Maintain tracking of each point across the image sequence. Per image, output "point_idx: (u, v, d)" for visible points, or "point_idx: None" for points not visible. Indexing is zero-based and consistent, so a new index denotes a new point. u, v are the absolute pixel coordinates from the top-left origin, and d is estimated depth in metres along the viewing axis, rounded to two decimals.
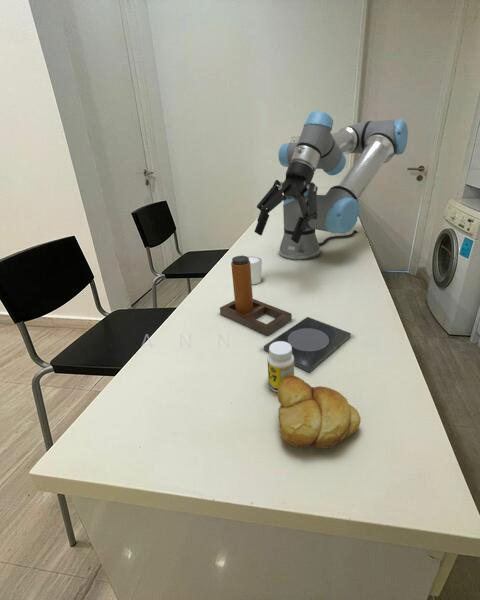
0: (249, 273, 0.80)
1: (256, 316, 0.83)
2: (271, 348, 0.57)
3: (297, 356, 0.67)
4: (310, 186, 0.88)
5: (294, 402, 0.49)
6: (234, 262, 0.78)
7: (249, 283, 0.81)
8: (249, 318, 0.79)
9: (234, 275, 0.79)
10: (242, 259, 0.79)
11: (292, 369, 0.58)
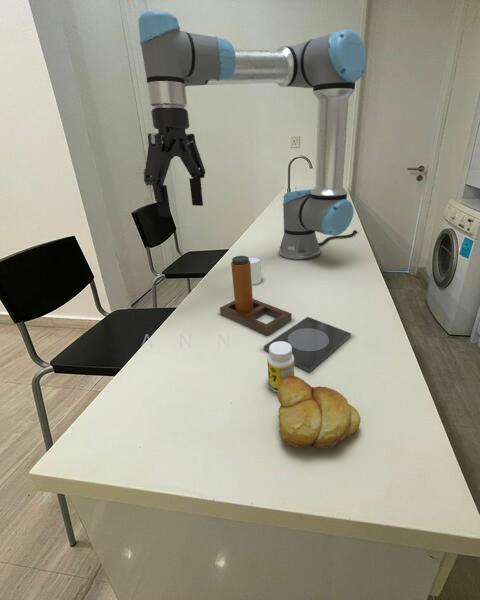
0: (249, 273, 0.80)
1: (256, 316, 0.83)
2: (271, 348, 0.57)
3: (297, 356, 0.67)
4: None
5: (294, 402, 0.49)
6: (234, 262, 0.78)
7: (249, 283, 0.81)
8: (249, 318, 0.79)
9: (234, 275, 0.79)
10: (242, 259, 0.79)
11: (292, 369, 0.58)
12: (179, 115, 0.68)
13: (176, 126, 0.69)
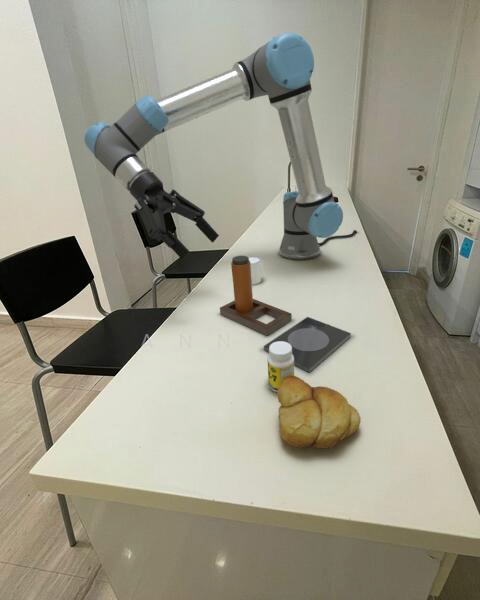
0: (249, 273, 0.80)
1: (256, 316, 0.83)
2: (271, 348, 0.57)
3: (297, 356, 0.67)
4: None
5: (294, 402, 0.49)
6: (234, 262, 0.78)
7: (249, 283, 0.81)
8: (249, 318, 0.79)
9: (234, 275, 0.79)
10: (242, 259, 0.79)
11: (292, 369, 0.58)
12: (146, 177, 0.77)
13: (150, 186, 0.77)
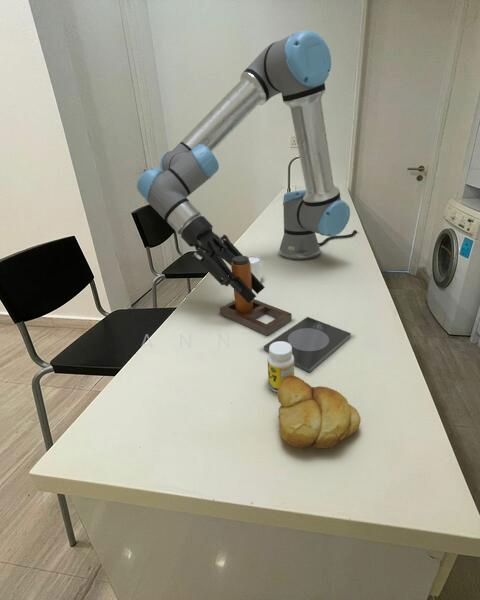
0: (249, 273, 0.80)
1: (256, 316, 0.83)
2: (271, 348, 0.57)
3: (297, 356, 0.67)
4: None
5: (294, 402, 0.49)
6: (234, 262, 0.78)
7: (249, 283, 0.81)
8: (249, 318, 0.79)
9: (234, 275, 0.79)
10: (242, 259, 0.79)
11: (292, 369, 0.58)
12: (199, 222, 0.77)
13: (202, 231, 0.77)
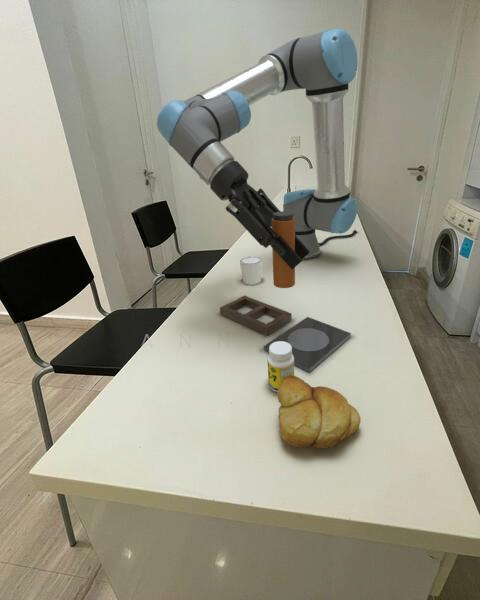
0: (293, 232, 0.65)
1: (256, 316, 0.83)
2: (271, 348, 0.57)
3: (297, 356, 0.67)
4: None
5: (294, 402, 0.49)
6: (276, 217, 0.63)
7: (293, 245, 0.66)
8: (249, 318, 0.79)
9: None
10: (286, 214, 0.64)
11: (292, 369, 0.58)
12: (233, 167, 0.62)
13: (238, 178, 0.62)
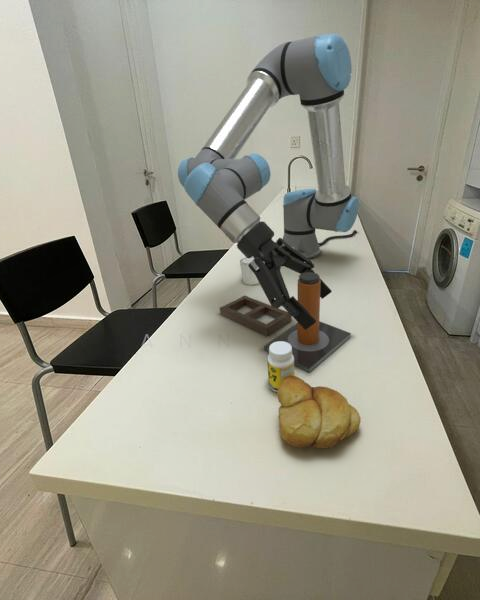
0: (319, 293, 0.66)
1: (256, 316, 0.83)
2: (271, 348, 0.57)
3: (297, 356, 0.67)
4: None
5: (294, 402, 0.49)
6: (303, 281, 0.64)
7: (318, 305, 0.67)
8: (249, 318, 0.79)
9: (302, 297, 0.66)
10: (312, 277, 0.65)
11: (292, 369, 0.58)
12: (261, 229, 0.63)
13: (265, 239, 0.63)
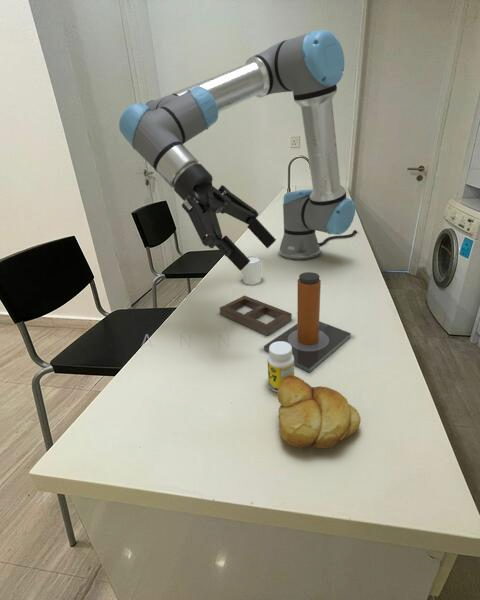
0: (319, 293, 0.66)
1: (256, 316, 0.83)
2: (271, 348, 0.57)
3: (297, 356, 0.67)
4: None
5: (294, 402, 0.49)
6: (303, 281, 0.64)
7: (318, 305, 0.67)
8: (249, 318, 0.79)
9: (302, 297, 0.66)
10: (312, 277, 0.65)
11: (292, 369, 0.58)
12: (195, 169, 0.63)
13: (200, 180, 0.63)
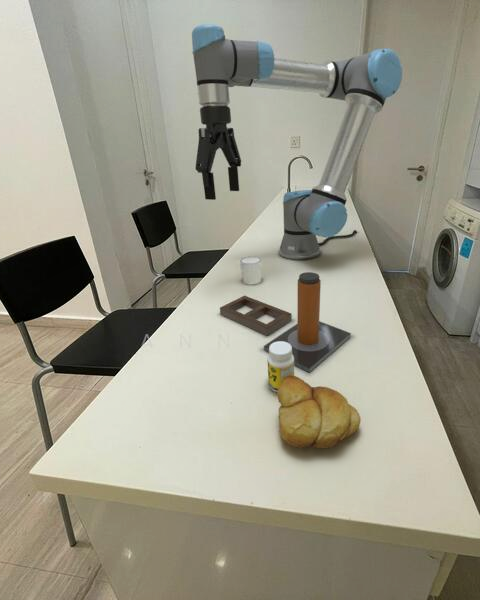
0: (319, 293, 0.66)
1: (256, 316, 0.83)
2: (271, 348, 0.57)
3: (297, 356, 0.67)
4: None
5: (294, 402, 0.49)
6: (303, 281, 0.64)
7: (318, 305, 0.67)
8: (249, 318, 0.79)
9: (302, 297, 0.66)
10: (312, 277, 0.65)
11: (292, 369, 0.58)
12: (224, 112, 0.80)
13: (222, 122, 0.81)
